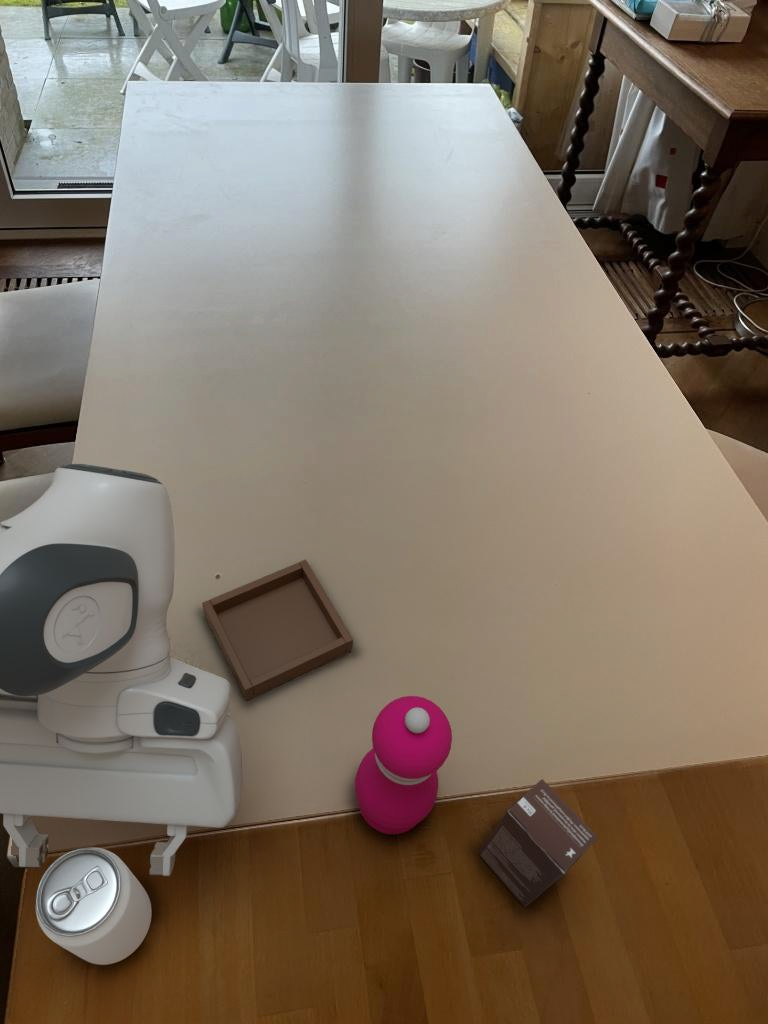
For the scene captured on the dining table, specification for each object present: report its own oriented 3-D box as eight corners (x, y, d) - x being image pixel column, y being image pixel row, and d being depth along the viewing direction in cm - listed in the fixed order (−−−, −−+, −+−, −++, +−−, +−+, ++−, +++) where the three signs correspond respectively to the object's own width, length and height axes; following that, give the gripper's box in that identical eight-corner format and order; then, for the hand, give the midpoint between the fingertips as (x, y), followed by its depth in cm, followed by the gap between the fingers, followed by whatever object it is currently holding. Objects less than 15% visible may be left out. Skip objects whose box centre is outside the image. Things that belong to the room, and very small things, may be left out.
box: (558, 872, 69) (601, 837, 59) (523, 909, 67) (562, 879, 57) (509, 817, 71) (542, 775, 62) (474, 851, 69) (503, 813, 60)
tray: (246, 700, 76) (245, 690, 74) (204, 614, 81) (201, 602, 79) (352, 650, 80) (353, 639, 78) (305, 571, 85) (305, 559, 83)
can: (55, 913, 64) (12, 882, 54) (128, 860, 66) (99, 822, 57) (93, 985, 61) (55, 966, 51) (167, 927, 64) (144, 898, 54)
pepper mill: (445, 816, 71) (489, 737, 55) (376, 856, 68) (400, 785, 52) (406, 746, 74) (435, 652, 58) (338, 781, 72) (349, 694, 56)
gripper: (-68, 696, 52) (-68, 884, 55) (239, 718, 53) (227, 902, 55) (-22, 663, 59) (-24, 834, 61) (251, 683, 60) (240, 851, 62)
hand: (98, 867), depth 58 cm, fingers open, 8 cm apart
